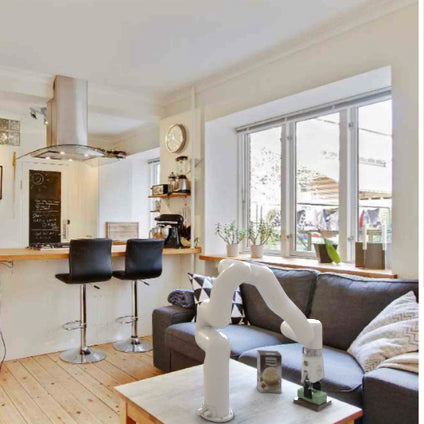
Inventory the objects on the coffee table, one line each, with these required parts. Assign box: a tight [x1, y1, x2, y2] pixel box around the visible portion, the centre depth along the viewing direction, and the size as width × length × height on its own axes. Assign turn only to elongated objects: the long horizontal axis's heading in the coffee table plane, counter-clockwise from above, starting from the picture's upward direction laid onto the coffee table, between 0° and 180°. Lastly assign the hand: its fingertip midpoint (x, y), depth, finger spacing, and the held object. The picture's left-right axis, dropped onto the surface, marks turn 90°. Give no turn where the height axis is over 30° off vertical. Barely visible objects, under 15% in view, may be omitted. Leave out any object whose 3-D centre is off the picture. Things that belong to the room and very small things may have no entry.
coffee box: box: [256, 349, 283, 394], centre depth 182 cm, size 9×6×16 cm
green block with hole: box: [296, 386, 328, 405], centre depth 169 cm, size 6×9×3 cm
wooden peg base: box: [293, 392, 332, 412], centre depth 169 cm, size 11×10×4 cm
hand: (312, 395), depth 169 cm, fingers closed on green block with hole, 6 cm apart
